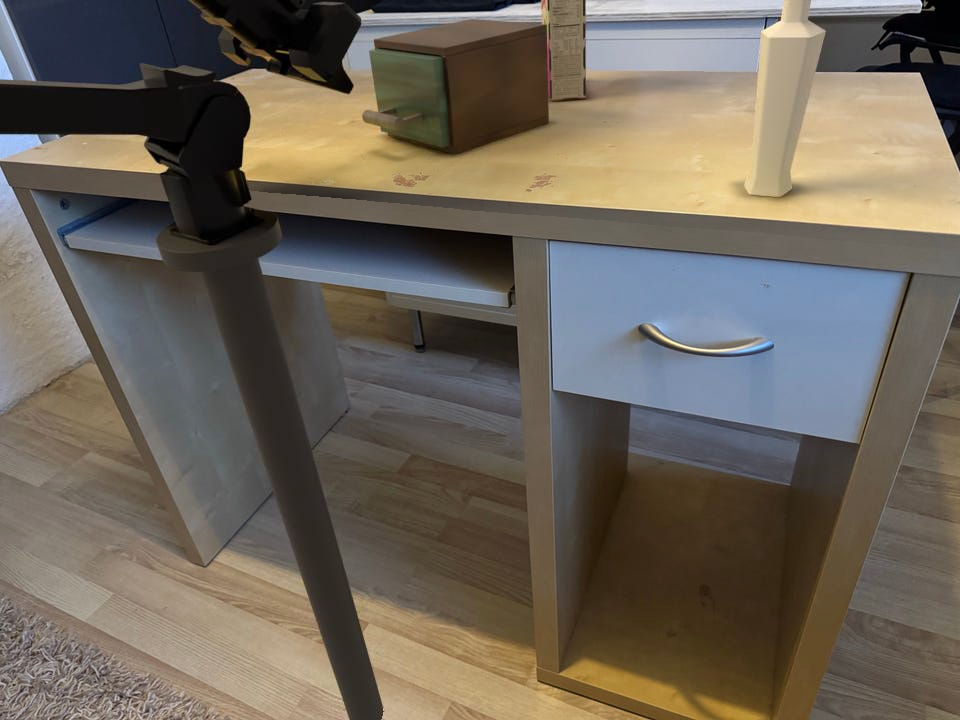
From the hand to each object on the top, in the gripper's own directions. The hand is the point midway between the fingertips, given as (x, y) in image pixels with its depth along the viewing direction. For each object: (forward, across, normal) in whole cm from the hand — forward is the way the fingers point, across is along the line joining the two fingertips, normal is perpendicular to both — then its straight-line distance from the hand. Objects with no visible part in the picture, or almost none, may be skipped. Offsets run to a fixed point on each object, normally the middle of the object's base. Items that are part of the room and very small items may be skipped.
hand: (350, 89), depth 70 cm
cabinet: (+16, 0, -5) cm, 17 cm away
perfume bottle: (+17, -37, -7) cm, 41 cm away
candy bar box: (+30, +3, -19) cm, 36 cm away
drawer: (+13, 0, -3) cm, 13 cm away
